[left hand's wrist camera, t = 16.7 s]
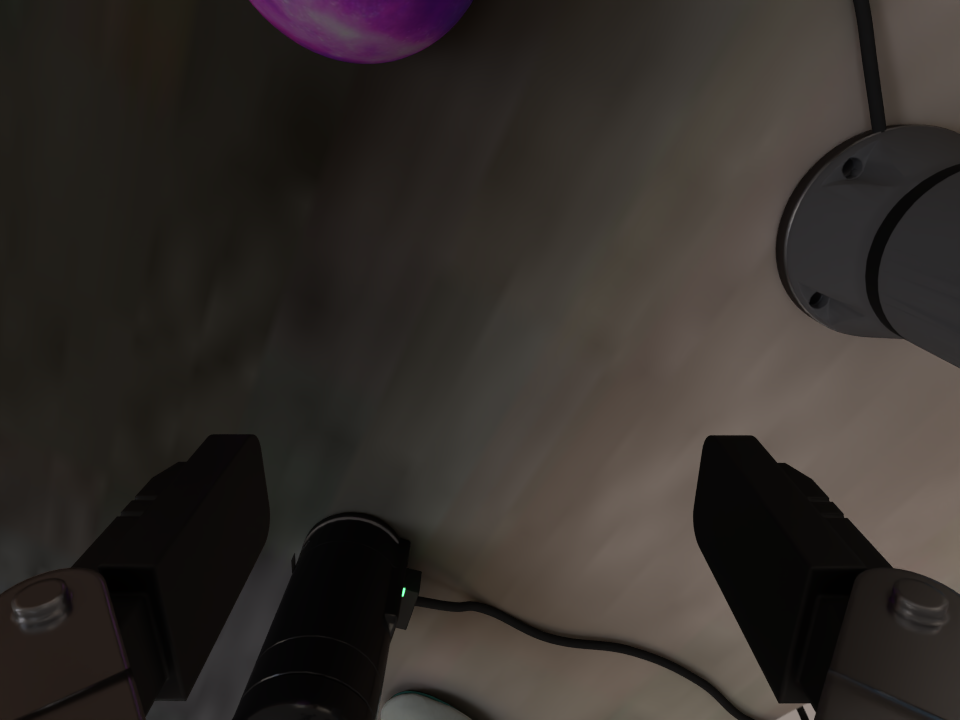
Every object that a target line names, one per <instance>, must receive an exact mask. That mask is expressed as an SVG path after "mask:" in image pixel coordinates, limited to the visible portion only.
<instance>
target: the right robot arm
mask: <svg viewBox="0 0 960 720" xmlns="http://www.w3.org/2000/svg"><path fill="white" fill-rule="evenodd" d="M853 2H854V7H855V13H856V18H857V25H858V32H859V39H860V47H861V55H862V63H863V70H864V77H865V83H866V90H867V97H868V104H869V111H870V118H871V125H872V130H870V131H866V132H864V133H861V134H859V135H856V136H854V137H852V138H850V139H848V140H847V141H845V142H843V143H842V144H840V145H838V146H837V147H835V148H834V149H832V150H831V151H830V152H828V153H827V154H826V155H825V156H823V157H822V158H821V159H820V160H819V161H818V162H817V163H816V164H815V165H814V166H813V167H812V168H811V169H810V170H809V171H808V172H807V174H806V175H805V176H804V177H803V178H802V180H801V181H800V183H799V184H798V185H797V187H796V188H795V190H794V192H793V193H792V195H791V197H790V199H789V201H788V203H787V205H786V207H785V209H784V212H783V215H782V218H781V221H780V225H779V228H778V234H777V241H776V260H777V268H778V272H779V276H780V279H781V281H782V284H783V286H784V288H785V290H786V292H787V294H788V295H789V297H790V298H791V300H792V301H793V302H794V303H795V304H796V306H797V307H798V308H799V309H801V310H802V311H803V312H804V313H805V314H807V315H808V316H809V317H811V318H813V319H814V320H816V321H817V322H819V323H821V324H823V325H824V326H826V327H828V328H830V329H832V330H835V331H837V332H841V333H844V334H849V335H854V336H860V337H874V338H895V339H905V340H907V341H909V342H911V343H913V344H915V345H917V346H918V347H920V348H922V349H924V350H926V351H928V352H930V353H932V354H934V355H936V356H937V357H939V358H941V359H943V360H945V361H947V362H949V363H951V364H953V365H955V366H957V367H958V368H960V134H959V133H957V132H954V131H951V130H949V129H946V128H941V127H937V126H929V125H892V126H886V121H885V114H884V107H883V99H882V92H881V85H880V77H879V70H878V63H877V55H876V47H875V39H874V31H873V23H872V16H871V10H870V4H869V0H853Z"/></svg>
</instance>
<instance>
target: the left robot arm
mask: <svg viewBox="0 0 960 720" xmlns="http://www.w3.org/2000/svg"><path fill="white" fill-rule="evenodd" d="M693 524H694V532H695V536H696V540H697V543H698V546H699V548H700V550H701V552H702V554H703V556H704V557H705V559H706V561H707V563H708V565H709V567H710V569H711V571H712V573H713V575H714V577H715V579H716V581H717V583H718V585H719V587H720V589H721V591H722V593H723V595H724V597H725V599H726V601H727V603H728V605H729V607H730V609H731V611H732V612H733V614H734V616H735V618H736V620H737V622H738V624H739V626H740V628H741V630H742V632H743V634H744V636H745V638H746V640H747V642H748V644H749V646H750V648H751V650H752V652H753V654H754V656H755V658H756V660H757V662H758V664H759V665H760V667H761V669H762V671H763V673H764V675H765V677H766V679H767V681H768V683H769V685H770V687H771V689H772V691H773V693H774V695H775V697H776V699H777V701H778V703H811V705H812V706H813V708H814V710H815V712H816V715H815V718H814V720H960V594H958V593H957V592H955V591H954V590H952V589H951V588H949V587H947V586H945V585H944V584H942V583H940V582H938V581H936V580H933V579H931V578H929V577H926V576H923V575H921V574H917V573H914V572H911V571H906V570H902V569H895V568H893V567H892V566H891V565H890V564H889V563H888V562H887V561H886V560H885V558H884V557H883V556H882V555H881V554H880V553H879V552H878V551H877V550H876V549H875V548H874V546H873V545H872V544H871V543H870V542H869V541H868V540H867V539H866V538H865V537H864V536H863V534H862V533H861V532H860V531H859V530H858V529H857V528H856V527H855V526H854V525H853V524H852V522H851V521H850V520H849V519H848V518H844V514H843V513H842V512H841V510H840V509H839V508H838V507H837V506H836V505H835V504H834V503H833V502H830V501H829V497H828V496H827V495H826V494H825V493H824V492H823V491H822V490H821V489H820V487H819V486H818V485H817V484H816V483H815V482H814V481H813V480H812V479H811V478H809V477H808V476H806V475H804V474H803V473H801V472H799V471H798V470H796V469H794V468H793V467H791V466H789V465H788V464H786V463H777V462H776V461H775V460H774V458H773V457H772V456H771V455H770V454H769V453H768V451H767V450H766V449H765V448H764V447H763V446H762V445H761V443H760V442H759V441H758V440H757V439H756V438H755V437H754V436H751V435H710V436H708V437H707V438H706V440H705V442H704V445H703V449H702V455H701V462H700V469H699V476H698V482H697V489H696V496H695V503H694V510H693ZM269 525H270V507H269V500H268V493H267V486H266V479H265V473H264V466H263V459H262V452H261V446H260V442H259V440H258V438H257V436H255V435H253V434H213V435H210V436H209V437H207V439H206V440H205V441H204V442H203V443H202V444H201V446H200V447H199V448H198V449H197V450H196V451H195V453H194V454H193V455H192V456H191V457H190V459H189V460H188V461H187V462H178V463H176V464H174V465H173V466H171V467H169V468H168V469H166V470H164V471H163V472H161V473H159V474H158V475H156V476H155V477H153V478H152V479H151V480H150V481H149V482H148V483H147V484H146V485H145V486H144V488H143V489H142V490H141V491H140V492H139V493H138V494H137V495H136V496H135V500H132V501H131V502H130V503H129V504H128V505H127V506H126V507H125V508H124V510H123V511H122V512H121V516H120V517H116V518H115V520H114V521H113V522H112V523H111V524H110V525H109V526H108V527H107V528H106V529H105V531H104V532H103V533H102V534H101V535H100V536H99V537H98V538H97V539H96V540H95V542H94V543H93V544H92V545H91V546H90V547H89V548H88V549H87V550H86V551H85V553H84V554H83V555H82V556H81V557H80V558H79V559H78V560H77V561H76V562H75V564H74V565H73V566H72V567H71V568H65V569H58V570H54V571H49V572H46V573H43V574H39V575H37V576H34V577H31V578H29V579H27V580H24V581H22V582H20V583H18V584H16V585H15V586H13V587H11V588H9V589H8V590H6V591H5V592H3V593H2V594H0V720H146V718H145V717H146V715H147V713H148V712H149V710H150V708H151V706H152V704H153V703H154V701H186V700H187V698H188V696H189V694H190V692H191V690H192V688H193V686H194V684H195V682H196V680H197V678H198V676H199V674H200V672H201V670H202V668H203V666H204V664H205V662H206V660H207V658H208V656H209V654H210V652H211V650H212V648H213V646H214V644H215V642H216V640H217V638H218V636H219V634H220V632H221V630H222V629H223V627H224V625H225V623H226V621H227V619H228V617H229V615H230V613H231V611H232V609H233V607H234V605H235V603H236V601H237V599H238V597H239V595H240V593H241V591H242V589H243V587H244V585H245V583H246V581H247V579H248V577H249V575H250V573H251V571H252V569H253V567H254V565H255V563H256V561H257V559H258V557H259V555H260V553H261V551H262V549H263V547H264V545H265V543H266V540H267V536H268V532H269ZM410 545H411V542H410V541H408V540H405V539H402V538H399V536H398V535H397V534H396V532H395V531H394V530H393V529H392V528H391V527H390V526H388V525H387V524H386V523H384V522H383V521H381V520H379V519H377V518H375V517H372V516H369V515H365V514H360V513H341V514H336V515H333V516H330V517H327V518H325V519H323V520H322V521H320V522H319V523H317V524H316V525H315V526H314V527H313V528H312V529H311V530H310V532H309V533H308V535H307V537H306V539H305V541H304V544H303V547H302V550H301V553H300V555H299V559H298V561H297V564H296V565H295V553H294V556H293V558H292V560H291V562H292V576H291V578H290V581H289V583H288V586H287V588H286V590H285V593H284V595H283V598H282V600H281V603H280V605H279V608H278V610H277V612H276V615H275V617H274V620H273V622H272V625H271V627H270V629H269V632H268V634H267V637H266V639H265V642H264V644H263V647H262V649H261V651H260V654H259V656H258V659H257V661H256V664H255V666H254V668H253V671H252V673H251V676H250V678H249V681H248V683H247V685H246V688H245V690H244V693H243V695H242V698H241V700H240V703H239V705H238V708H237V710H236V712H235V715H234V717H233V719H232V720H377V717H378V711H379V705H380V699H381V693H382V687H383V682H384V676H385V670H386V664H387V658H388V652H389V646H390V643H391V640H392V637H393V634H394V631H395V628H400V629H404V630H406V629H407V626H408V623H409V620H410V617H411V614H412V612H413V609H414V606H420V607H426V608H431V609H437V610H443V611H452V612H463V611H477V612H481V613H484V614H487V615H490V616H492V617H495V618H497V619H499V620H501V621H503V622H505V623H507V624H508V625H510V626H512V627H514V628H516V629H518V630H520V631H521V632H523V633H525V634H528V635H530V636H532V637H534V638H537V639H539V640H542V641H545V642H548V643H552V644H556V645H560V646H566V647H572V648H581V649H593V650H604V651H612V652H618V653H623V654H627V655H631V656H635V657H638V658H641V659H644V660H647V661H650V662H653V663H655V664H658V665H660V666H663V667H665V668H667V669H669V670H672V671H674V672H676V673H678V674H679V675H681V676H683V677H685V678H687V679H688V680H690V681H692V682H694V683H695V684H697V685H698V686H700V687H701V688H703V689H704V690H706V691H707V692H708V693H709V694H710V695H712V696H713V697H714V698H715V699H716V700H717V701H718V702H719V703H720V704H721V705H722V706H723V707H724V708H725V709H726V710H727V711H728V712H729V713H730V714H731V715H732V716H734V717H735V718H736V719H738V720H754V719H752V718H750V717H748V716H746V715H745V714H743V713H742V712H740V711H739V710H738V709H736V708H735V707H734V706H733V705H732V704H731V703H730V702H729V701H728V700H727V699H726V698H725V697H724V696H723V695H722V694H721V693H720V692H719V691H718V690H717V689H716V688H715V687H713V686H712V685H711V684H710V683H708V682H707V681H705V680H704V679H702V678H701V677H699V676H697V675H696V674H694V673H692V672H691V671H689V670H687V669H685V668H684V667H682V666H680V665H678V664H676V663H674V662H672V661H670V660H668V659H665V658H663V657H661V656H658V655H656V654H653V653H650V652H647V651H644V650H641V649H638V648H635V647H631V646H628V645H623V644H619V643H612V642H605V641H594V640H582V639H573V638H566V637H561V636H557V635H553V634H549V633H546V632H543V631H540V630H538V629H536V628H533V627H531V626H529V625H527V624H525V623H523V622H521V621H519V620H517V619H516V618H514V617H512V616H510V615H508V614H506V613H504V612H502V611H500V610H498V609H496V608H494V607H491V606H488V605H486V604H482V603H479V602H473V601H467V602H449V601H442V600H436V599H430V598H425V597H419V596H418V595H419V589H420V582H421V574H422V572H421V571H417V570H413V569H409V568H407V563H408V557H409V551H410ZM796 710H797V712H798V714H799V716H800V719H801V720H809V718H808V716H807V713H806V711H805V709H804V707H803V706H801V707H799V708H797V709H796Z"/></svg>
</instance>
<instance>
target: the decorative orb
mask: <svg viewBox="0 0 960 720" xmlns="http://www.w3.org/2000/svg"><path fill="white" fill-rule="evenodd" d="M249 1H250V2H251V3H252V4H253V6H254V7H255V8H256V9H257V10H258V11H259V12H260V13H261V14H262V15H263V17H265V18H266V19H267V20H268V21H269V22H270V23H271V24H272V25H273V26H274V27H275V28H277V29H278V30H279V31H280V32H282V33H283V34H284V35H286V36H287V37H289V38H290V39H291V40H293V41H294V42H296V43H298V44H300V45H301V46H303V47H305V48H307V49H309V50H311V51H313V52H315V53H318V54H320V55H323V56H325V57H328V58H332V59H335V60H339V61H344V62H350V63H359V64H376V63H385V62H390V61H395V60H399V59H402V58H405V57H408V56H410V55H413V54H415V53H417V52H420V51H421V50H423V49H425V48H427V47H429V46H430V45H432V44H433V43H434V42H436V41H437V40H439V39H440V38H441V37H442V36H444V35H445V34H446V33H447V32H448V31H449V30H450V29H451V28H452V27H453V26H454V25H455V24H456V23H457V22H458V21H459V20H460V18H461V17H462V16H463V15H464V13H465V12H466V11H467V9H468V8H469V6H470V5H471V3H472V2H473V0H249Z"/></svg>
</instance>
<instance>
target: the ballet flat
mask: <svg viewBox="0 0 960 720" xmlns="http://www.w3.org/2000/svg"><path fill="white" fill-rule="evenodd" d="M380 718H381V720H472V719H471V718H469V717H468V716H466V715H465V714H463V713H461V712H460V711H459V710H457V709H455V708H454V707H452V706H450V705H449V704H447V703H445V702H443V701H441V700H439V699H437V698H435V697H433V696H430V695H427V694H424V693H421V692H415V691H404V692H400V693H397V694H396V695H394V696H393V697H391V699H389V700H388V701H387V702H386V703H385V704H384V706H383V708H382V710H381V717H380Z"/></svg>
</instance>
